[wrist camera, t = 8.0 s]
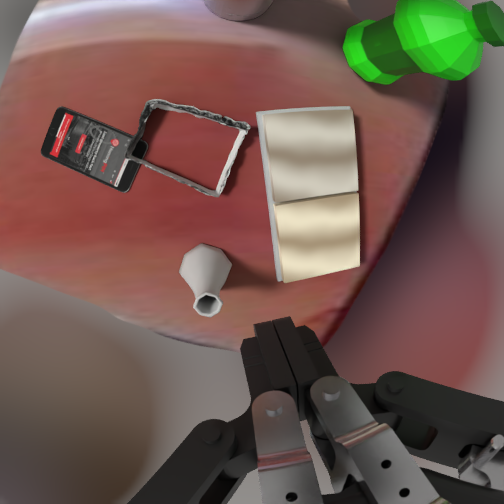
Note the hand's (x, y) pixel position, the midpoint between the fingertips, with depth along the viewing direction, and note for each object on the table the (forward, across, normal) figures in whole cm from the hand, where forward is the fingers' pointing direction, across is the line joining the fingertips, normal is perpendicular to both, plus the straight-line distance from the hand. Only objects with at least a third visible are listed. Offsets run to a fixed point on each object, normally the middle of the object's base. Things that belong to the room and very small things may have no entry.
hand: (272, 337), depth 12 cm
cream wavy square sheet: (+28, -13, +8) cm, 31 cm away
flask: (+29, +4, +10) cm, 31 cm away
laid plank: (+28, -12, -4) cm, 31 cm away
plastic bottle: (+29, -23, -18) cm, 41 cm away
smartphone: (+30, +16, -10) cm, 35 cm away
